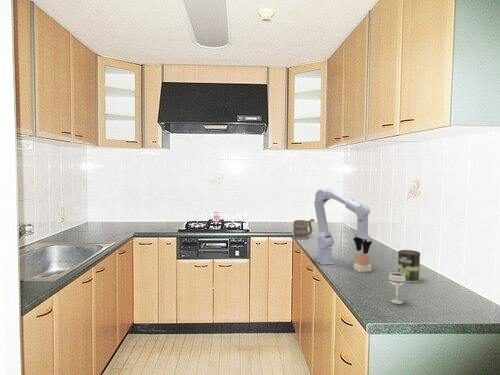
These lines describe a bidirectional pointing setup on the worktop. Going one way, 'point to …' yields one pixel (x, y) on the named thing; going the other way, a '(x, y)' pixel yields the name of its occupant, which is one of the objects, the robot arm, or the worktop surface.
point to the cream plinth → (362, 268)
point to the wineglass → (397, 282)
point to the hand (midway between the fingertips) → (362, 252)
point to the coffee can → (409, 265)
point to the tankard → (302, 229)
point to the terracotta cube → (362, 260)
